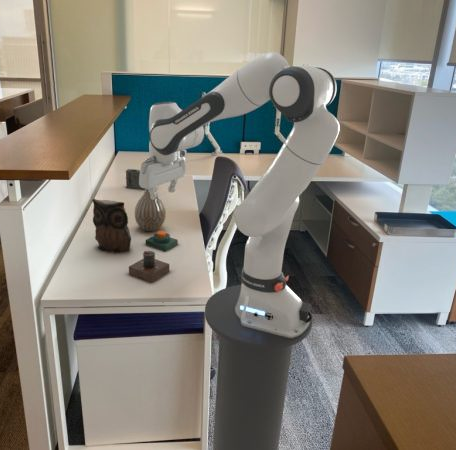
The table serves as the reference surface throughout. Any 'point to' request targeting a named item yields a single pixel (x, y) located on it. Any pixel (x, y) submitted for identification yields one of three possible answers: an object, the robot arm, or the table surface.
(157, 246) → the button box
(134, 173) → the camera
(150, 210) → the vase
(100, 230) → the owl
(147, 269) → the knob panel
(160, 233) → the button
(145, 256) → the rod knob
